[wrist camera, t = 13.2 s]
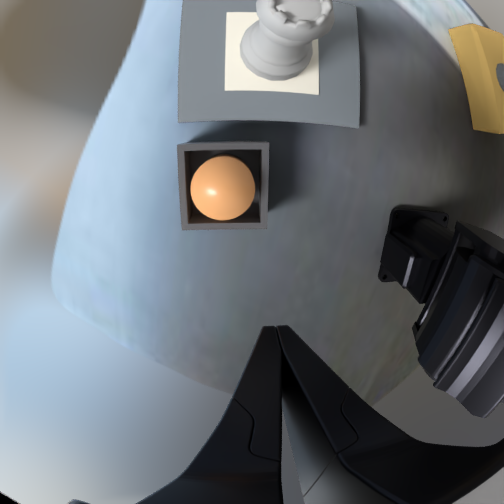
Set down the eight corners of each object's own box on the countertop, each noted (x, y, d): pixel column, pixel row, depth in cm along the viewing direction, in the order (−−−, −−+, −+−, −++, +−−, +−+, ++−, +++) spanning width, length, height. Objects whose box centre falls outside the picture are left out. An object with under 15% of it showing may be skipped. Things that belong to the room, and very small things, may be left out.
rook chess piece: (312, 31, 13) (358, -20, 6) (304, 88, 15) (352, 61, 8) (244, 19, 13) (250, -45, 6) (234, 76, 15) (231, 36, 7)
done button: (253, 153, 17) (255, 157, 14) (252, 208, 18) (254, 220, 16) (195, 155, 16) (189, 158, 14) (197, 209, 18) (192, 220, 16)
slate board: (351, 9, 13) (356, 5, 12) (354, 128, 17) (359, 128, 16) (185, -1, 12) (183, -6, 11) (180, 122, 16) (177, 122, 16)
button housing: (264, 141, 17) (269, 142, 15) (262, 214, 20) (267, 229, 17) (186, 142, 17) (177, 144, 14) (189, 215, 19) (182, 230, 17)
